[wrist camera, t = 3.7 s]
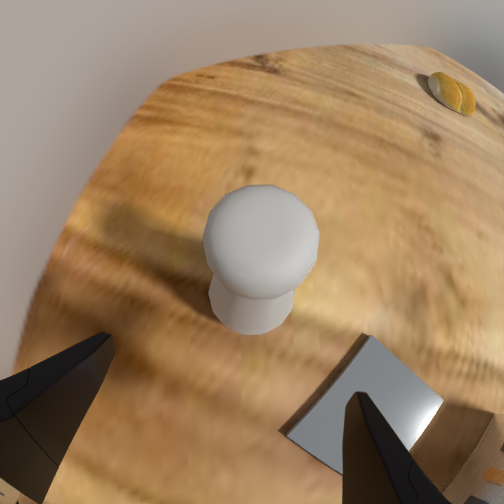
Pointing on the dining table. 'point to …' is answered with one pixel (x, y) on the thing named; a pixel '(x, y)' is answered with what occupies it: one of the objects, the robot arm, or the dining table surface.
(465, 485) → the breaker panel
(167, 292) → the dining table surface
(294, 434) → the slate pad
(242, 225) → the salt shaker
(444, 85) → the bread roll
